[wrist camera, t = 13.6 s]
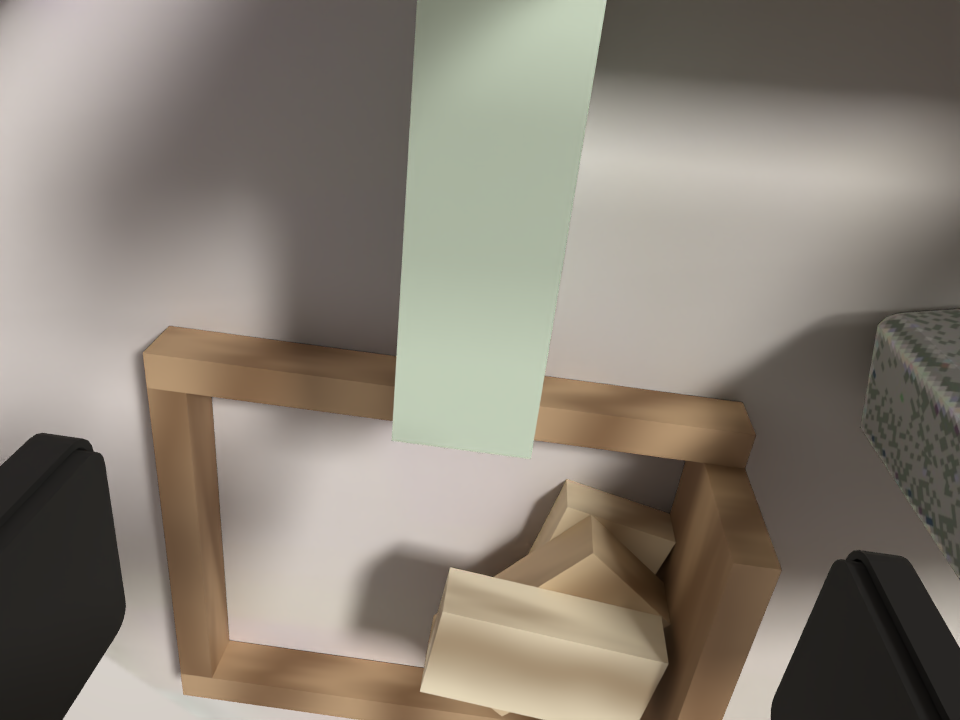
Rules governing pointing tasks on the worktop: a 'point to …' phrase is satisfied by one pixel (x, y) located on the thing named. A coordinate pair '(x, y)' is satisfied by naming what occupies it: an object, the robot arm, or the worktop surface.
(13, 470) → the robot arm
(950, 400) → the decorative stone tablet
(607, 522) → the offcut bottom
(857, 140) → the worktop surface
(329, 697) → the frame
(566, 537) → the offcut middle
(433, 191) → the panel
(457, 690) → the offcut top
